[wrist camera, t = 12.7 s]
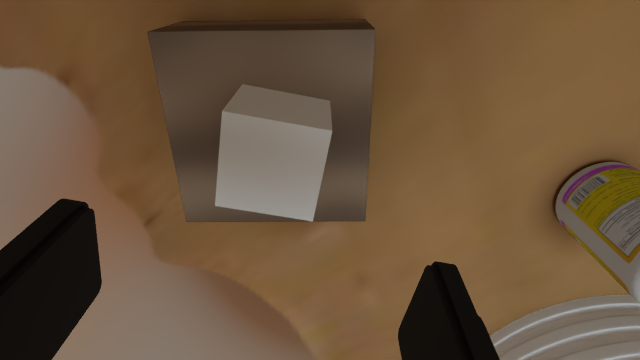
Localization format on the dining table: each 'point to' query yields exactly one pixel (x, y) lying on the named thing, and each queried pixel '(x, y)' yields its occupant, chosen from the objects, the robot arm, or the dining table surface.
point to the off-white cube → (273, 152)
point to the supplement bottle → (606, 218)
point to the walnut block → (271, 73)
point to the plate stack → (574, 331)
